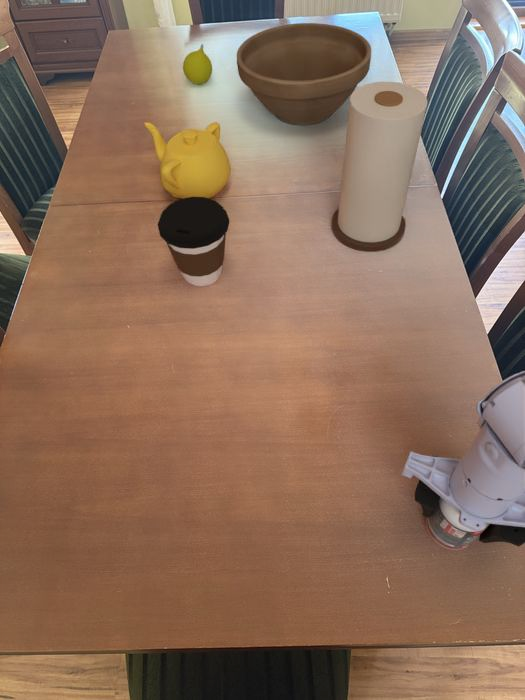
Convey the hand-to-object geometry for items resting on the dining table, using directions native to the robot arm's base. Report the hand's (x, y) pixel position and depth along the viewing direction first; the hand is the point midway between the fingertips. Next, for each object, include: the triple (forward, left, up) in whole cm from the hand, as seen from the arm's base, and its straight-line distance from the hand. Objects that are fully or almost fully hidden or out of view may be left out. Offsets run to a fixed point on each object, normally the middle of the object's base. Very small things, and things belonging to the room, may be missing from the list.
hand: (454, 521), depth 57 cm
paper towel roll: (+27, -47, -3) cm, 54 cm away
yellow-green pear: (+84, -82, -3) cm, 117 cm away
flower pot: (+55, -80, -3) cm, 97 cm away
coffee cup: (+48, -24, -3) cm, 54 cm away
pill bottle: (0, -1, -3) cm, 3 cm away
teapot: (+63, -44, -3) cm, 77 cm away
